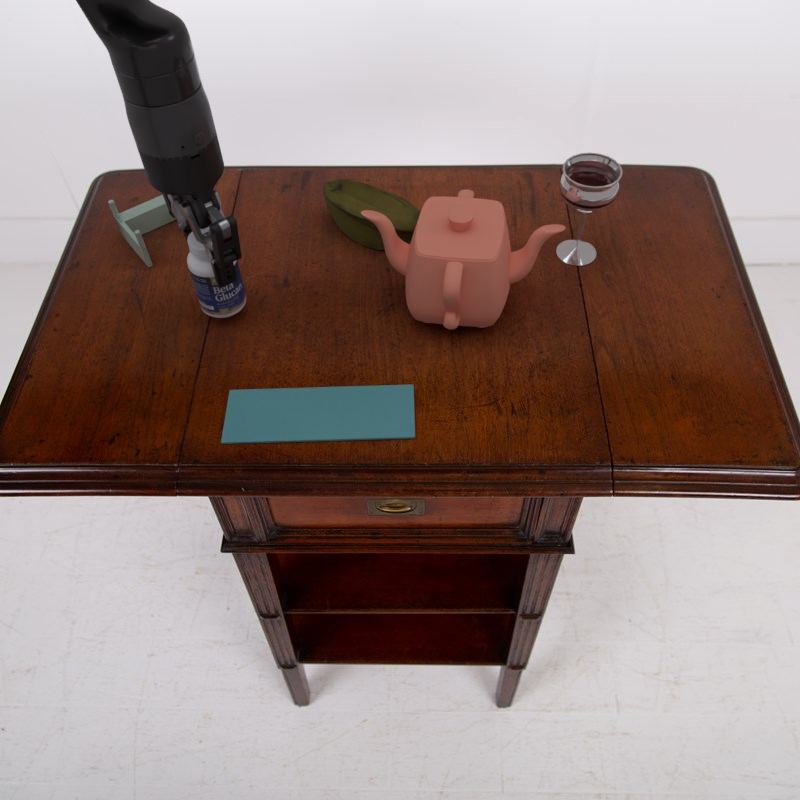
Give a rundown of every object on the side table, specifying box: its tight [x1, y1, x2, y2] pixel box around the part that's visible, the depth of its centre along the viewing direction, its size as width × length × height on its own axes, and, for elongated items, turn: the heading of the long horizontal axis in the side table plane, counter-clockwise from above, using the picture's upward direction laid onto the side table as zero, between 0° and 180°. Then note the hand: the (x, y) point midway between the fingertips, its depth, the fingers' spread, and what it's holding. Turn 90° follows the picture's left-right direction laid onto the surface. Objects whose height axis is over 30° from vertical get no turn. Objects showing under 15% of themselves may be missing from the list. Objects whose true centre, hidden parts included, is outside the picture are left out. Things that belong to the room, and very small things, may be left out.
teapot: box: [361, 189, 566, 331], centre depth 85 cm, size 15×17×13 cm
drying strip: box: [220, 383, 416, 445], centre depth 80 cm, size 20×7×1 cm, turn 91°
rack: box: [107, 194, 177, 268], centre depth 97 cm, size 8×8×5 cm
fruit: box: [322, 178, 421, 251], centre depth 96 cm, size 11×12×7 cm
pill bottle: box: [186, 227, 247, 319], centre depth 85 cm, size 5×5×10 cm
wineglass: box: [555, 152, 623, 266], centre depth 90 cm, size 7×7×12 cm
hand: (214, 267), depth 84 cm, fingers closed on pill bottle, 5 cm apart
